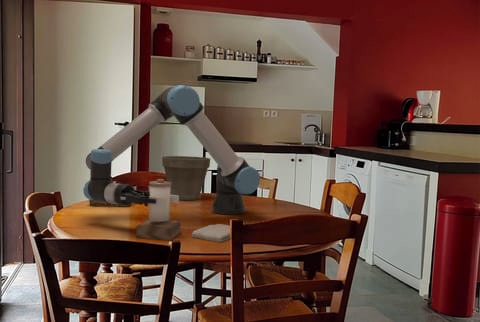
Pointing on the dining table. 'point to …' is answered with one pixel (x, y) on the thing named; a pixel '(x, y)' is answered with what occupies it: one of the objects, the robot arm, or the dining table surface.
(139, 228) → the base block
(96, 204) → the bread
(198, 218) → the dining table surface
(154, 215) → the canister
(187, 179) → the plant pot
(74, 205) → the dining table surface
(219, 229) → the washcloth
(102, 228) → the dining table surface
